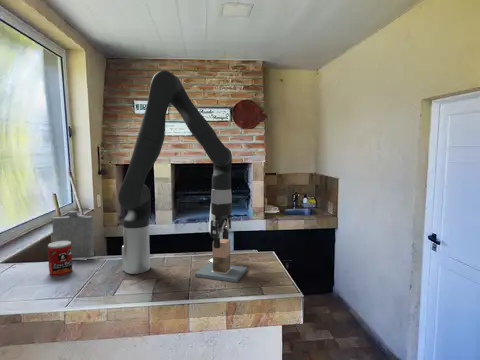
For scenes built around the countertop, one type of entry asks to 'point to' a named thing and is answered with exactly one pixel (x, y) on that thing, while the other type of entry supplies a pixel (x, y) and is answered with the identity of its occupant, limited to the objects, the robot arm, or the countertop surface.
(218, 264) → the walnut block
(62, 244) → the canned food
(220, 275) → the slate board
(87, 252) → the hip flask
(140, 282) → the countertop surface
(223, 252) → the terracotta block
